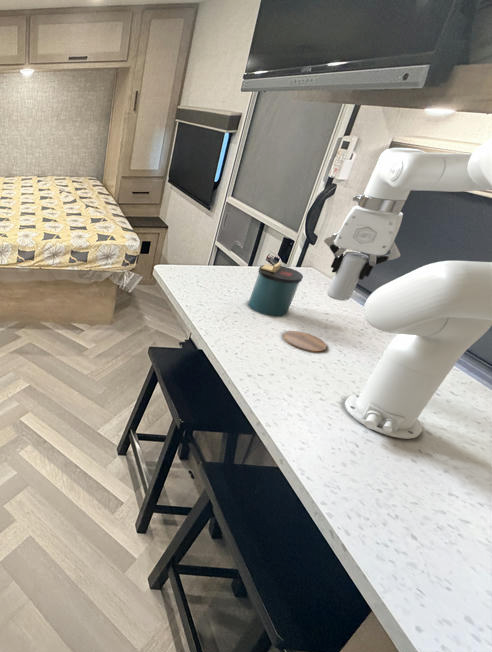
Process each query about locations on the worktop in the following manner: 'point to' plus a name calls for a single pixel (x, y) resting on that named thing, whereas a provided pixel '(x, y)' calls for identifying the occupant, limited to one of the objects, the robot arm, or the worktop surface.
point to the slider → (272, 267)
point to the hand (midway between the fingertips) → (348, 273)
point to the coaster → (304, 341)
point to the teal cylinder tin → (274, 291)
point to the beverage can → (347, 275)
